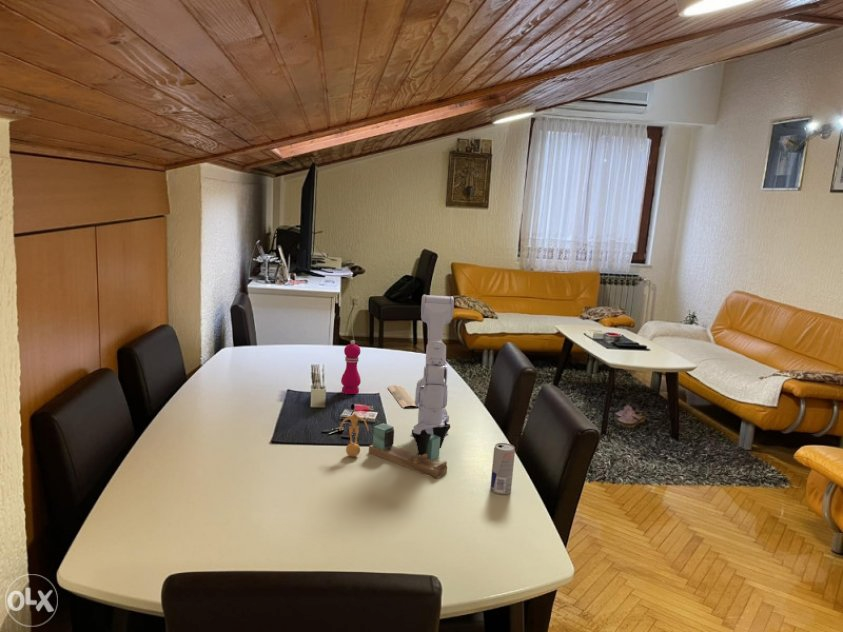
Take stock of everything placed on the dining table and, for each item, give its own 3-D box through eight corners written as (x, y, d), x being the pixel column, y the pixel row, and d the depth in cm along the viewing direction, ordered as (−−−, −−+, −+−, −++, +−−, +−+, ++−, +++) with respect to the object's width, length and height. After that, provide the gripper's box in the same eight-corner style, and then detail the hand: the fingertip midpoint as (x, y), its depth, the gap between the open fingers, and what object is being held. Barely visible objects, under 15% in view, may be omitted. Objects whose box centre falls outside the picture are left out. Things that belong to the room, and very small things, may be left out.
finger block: (426, 452, 185) (427, 432, 184) (438, 456, 182) (440, 436, 181) (417, 455, 182) (419, 436, 181) (430, 460, 179) (432, 440, 178)
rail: (380, 447, 186) (381, 421, 184) (446, 472, 172) (448, 445, 170) (368, 452, 182) (370, 426, 180) (436, 478, 168) (438, 450, 166)
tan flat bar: (419, 410, 223) (419, 405, 223) (399, 410, 221) (400, 405, 221) (402, 389, 245) (402, 385, 245) (384, 389, 243) (384, 385, 243)
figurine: (337, 458, 176) (339, 417, 174) (338, 450, 182) (340, 410, 180) (367, 459, 177) (369, 418, 175) (367, 450, 183) (369, 411, 181)
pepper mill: (358, 396, 232) (361, 343, 228) (339, 394, 232) (341, 341, 228) (361, 390, 239) (363, 338, 235) (342, 388, 239) (344, 337, 235)
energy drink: (497, 483, 167) (501, 440, 165) (514, 490, 164) (519, 447, 162) (486, 490, 163) (490, 446, 161) (503, 497, 160) (508, 452, 158)
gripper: (429, 415, 171) (425, 462, 173) (458, 403, 182) (455, 448, 185) (408, 409, 175) (405, 455, 178) (439, 398, 187) (435, 441, 189)
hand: (429, 451), depth 182 cm, fingers open, 7 cm apart
